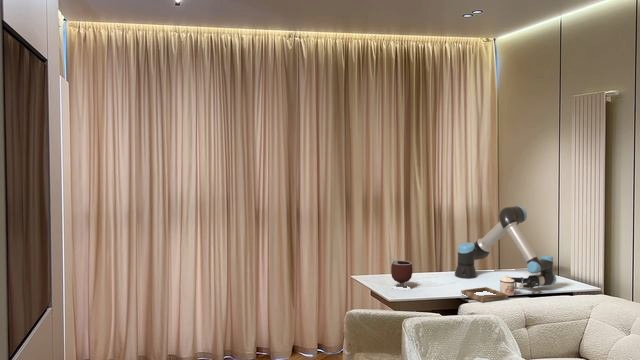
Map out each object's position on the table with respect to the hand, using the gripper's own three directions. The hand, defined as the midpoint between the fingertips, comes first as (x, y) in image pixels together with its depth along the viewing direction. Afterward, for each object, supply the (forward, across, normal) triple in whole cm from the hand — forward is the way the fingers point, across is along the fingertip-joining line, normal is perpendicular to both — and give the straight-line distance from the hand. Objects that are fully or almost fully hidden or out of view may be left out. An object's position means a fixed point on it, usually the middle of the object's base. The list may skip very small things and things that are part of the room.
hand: (510, 284), depth 384 cm
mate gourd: (+57, +41, -7) cm, 70 cm away
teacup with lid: (+1, +1, -7) cm, 7 cm away
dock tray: (+21, +1, -6) cm, 22 cm away
